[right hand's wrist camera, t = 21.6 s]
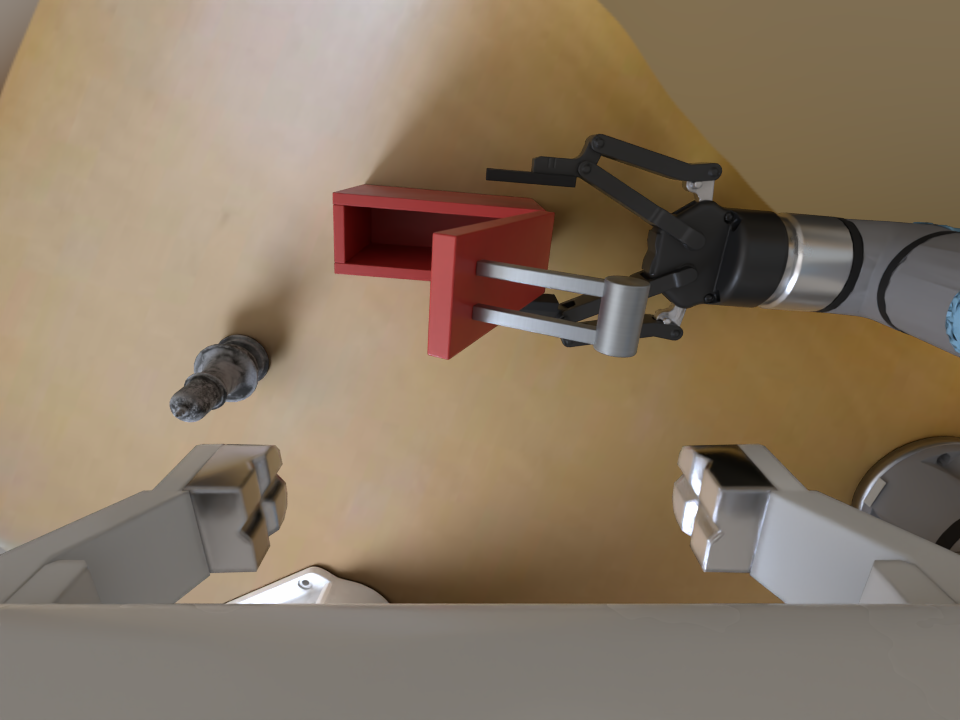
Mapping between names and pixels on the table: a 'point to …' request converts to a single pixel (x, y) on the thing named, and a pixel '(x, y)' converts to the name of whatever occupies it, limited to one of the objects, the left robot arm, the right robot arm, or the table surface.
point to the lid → (520, 288)
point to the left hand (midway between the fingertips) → (481, 238)
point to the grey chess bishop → (221, 377)
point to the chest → (406, 226)
